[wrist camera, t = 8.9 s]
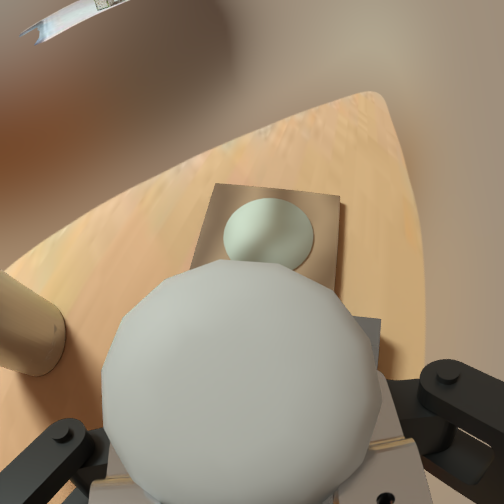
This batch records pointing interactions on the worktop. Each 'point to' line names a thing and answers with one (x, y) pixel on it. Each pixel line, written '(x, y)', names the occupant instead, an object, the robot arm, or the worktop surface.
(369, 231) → the worktop surface
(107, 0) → the syrup box
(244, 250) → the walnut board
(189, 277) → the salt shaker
